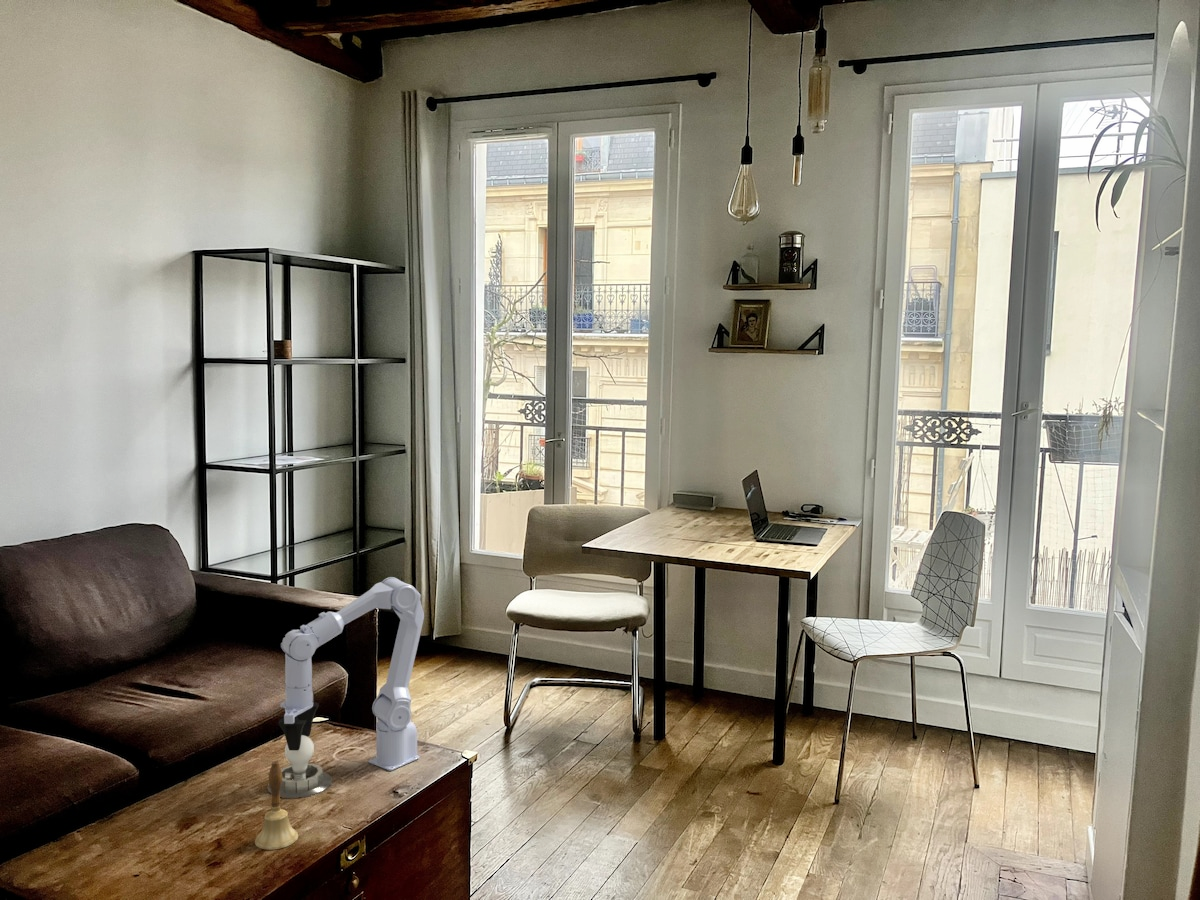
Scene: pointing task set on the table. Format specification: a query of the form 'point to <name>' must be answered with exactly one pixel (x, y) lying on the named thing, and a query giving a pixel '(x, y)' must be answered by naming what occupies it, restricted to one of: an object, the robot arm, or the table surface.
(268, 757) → the table surface
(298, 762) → the lightbulb
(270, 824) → the hand bell
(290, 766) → the lamp base
